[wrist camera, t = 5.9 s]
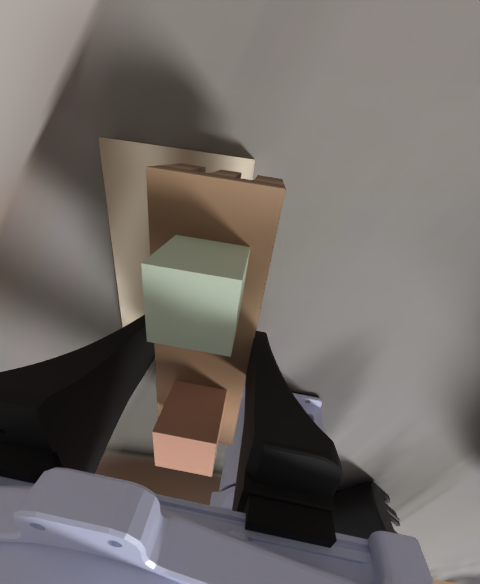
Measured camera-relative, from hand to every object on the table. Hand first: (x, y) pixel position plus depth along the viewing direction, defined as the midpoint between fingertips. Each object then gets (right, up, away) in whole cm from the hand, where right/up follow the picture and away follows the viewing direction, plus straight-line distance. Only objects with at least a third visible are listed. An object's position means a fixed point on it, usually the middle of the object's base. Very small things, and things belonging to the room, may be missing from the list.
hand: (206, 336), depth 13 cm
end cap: (+17, -26, +21) cm, 37 cm away
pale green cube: (+1, +3, -3) cm, 4 cm away
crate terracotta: (-1, -4, +1) cm, 4 cm away
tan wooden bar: (0, +1, +3) cm, 3 cm away
